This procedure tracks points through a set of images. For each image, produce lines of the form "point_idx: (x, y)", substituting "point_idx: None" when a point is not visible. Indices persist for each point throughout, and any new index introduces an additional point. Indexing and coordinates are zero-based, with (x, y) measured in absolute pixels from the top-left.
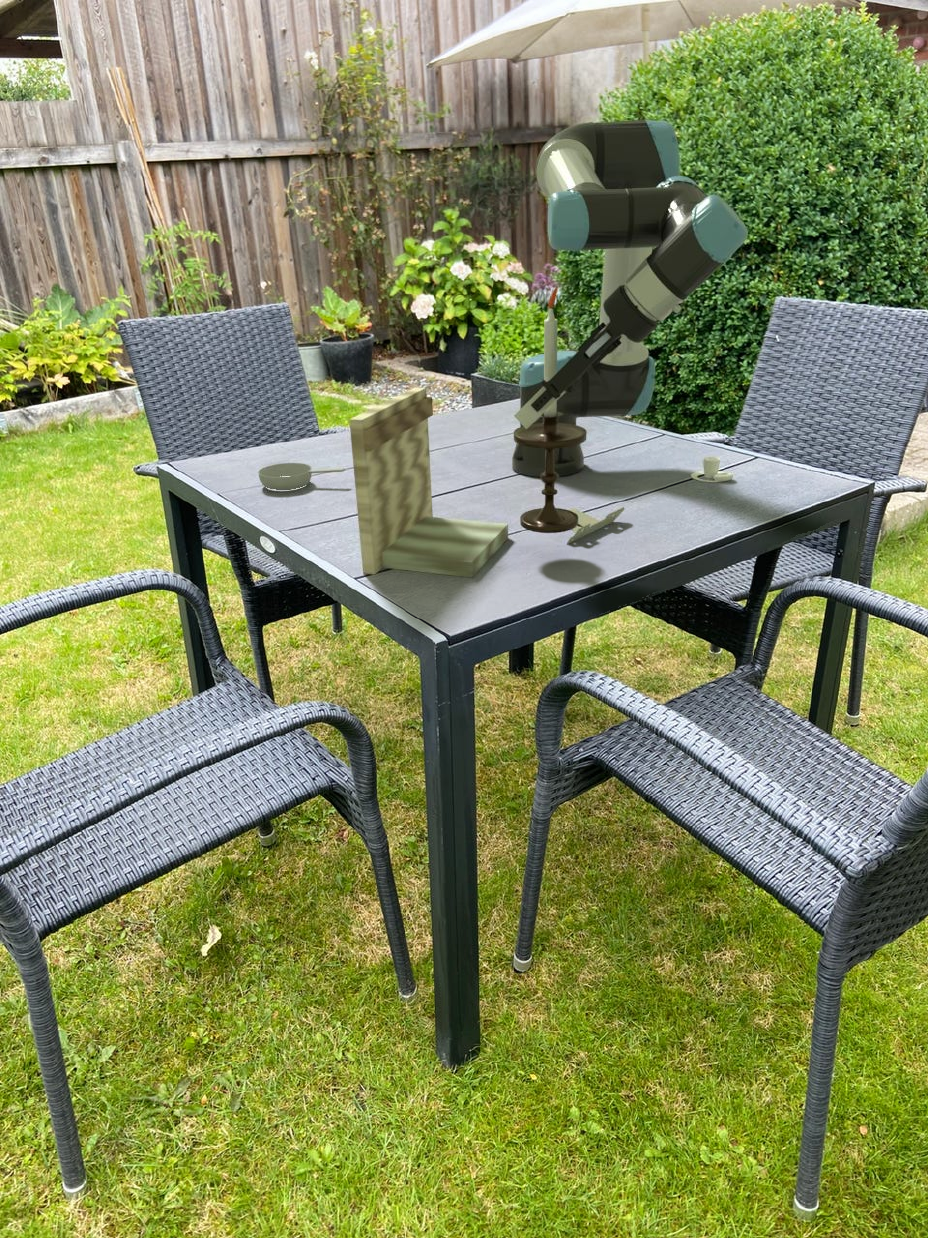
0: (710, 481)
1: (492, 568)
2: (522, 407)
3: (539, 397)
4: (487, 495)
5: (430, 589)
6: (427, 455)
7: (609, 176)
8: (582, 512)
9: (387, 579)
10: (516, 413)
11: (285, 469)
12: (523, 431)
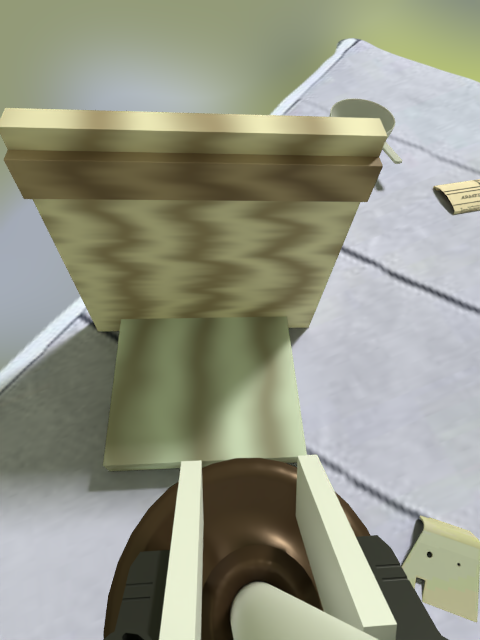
0: None
1: (156, 490)
2: (177, 495)
3: (120, 616)
4: (470, 353)
5: (52, 426)
6: (328, 254)
7: None
8: (477, 571)
9: (83, 353)
10: (180, 471)
11: (381, 115)
12: (260, 484)
